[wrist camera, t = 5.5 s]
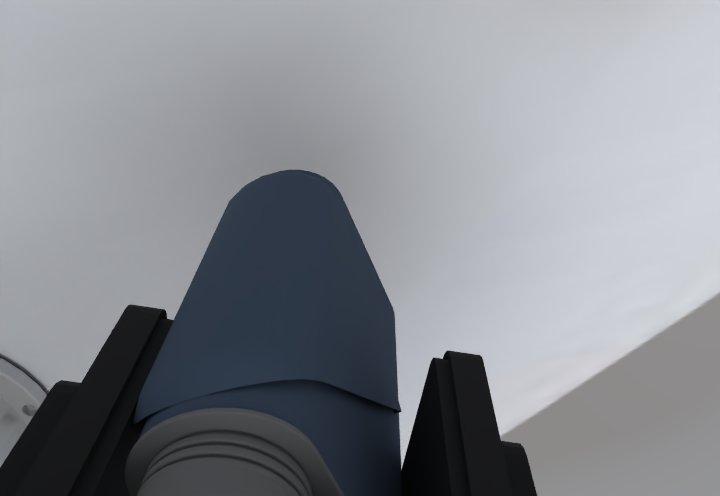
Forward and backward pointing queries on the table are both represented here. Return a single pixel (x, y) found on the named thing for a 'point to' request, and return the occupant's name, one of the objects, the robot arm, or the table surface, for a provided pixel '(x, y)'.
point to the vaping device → (275, 359)
